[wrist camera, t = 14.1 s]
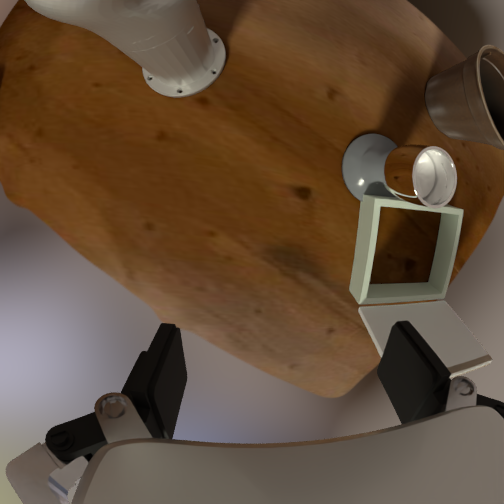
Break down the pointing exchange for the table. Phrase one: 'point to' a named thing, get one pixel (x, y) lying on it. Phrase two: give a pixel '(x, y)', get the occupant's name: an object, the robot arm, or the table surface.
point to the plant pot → (470, 98)
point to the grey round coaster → (353, 164)
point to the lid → (430, 332)
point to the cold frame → (366, 250)
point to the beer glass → (412, 173)
